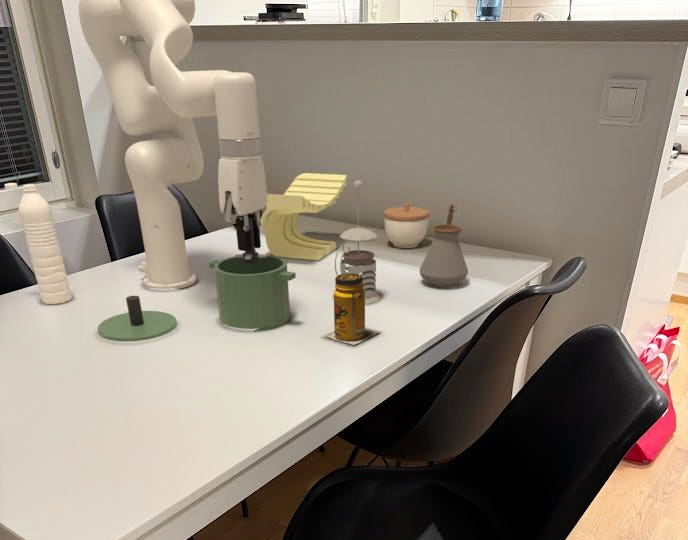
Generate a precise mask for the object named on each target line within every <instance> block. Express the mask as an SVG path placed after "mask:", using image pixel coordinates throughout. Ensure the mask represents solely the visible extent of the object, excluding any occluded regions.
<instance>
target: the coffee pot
mask: <svg viewBox="0 0 688 540" xmlns="http://www.w3.org/2000/svg"><path fill="white" fill-rule="evenodd" d="M454 209H455V210H454ZM447 210H448V214H447V220H446V224H436V225H434V226H433V227H432V231H433V232H434V238H433V240H432V242H431V244H430V246H429V249H428V250H427V252H426V255H425V257H424V259H423V261H422V264H421V265H420V268H419V273H420V275H419V276H420V277H421V278H422V279H423V280H424V281H425V282H426V284H427V285H429V286H431V287H434V288H441V289H442V288H443V289H445V288H446V289H447V288H454V287H457V286H459V285H460V283H461V282H463V281H464V280H465V279H466V278H467V276H468V275H469V270H468V267H467V263H466V261H465V257H464V253H463V251H462V249H461V245H460V242H459V238H458V236H459V234H460V233H461V231H463V228H462V227H460V226H458V225H455V224H452V221H453V218H454V214H453V213H455V212H456V211H458V207H457V206H455V205H454V204H450V205H448V207H447Z"/></svg>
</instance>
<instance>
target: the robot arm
mask: <svg viewBox="0 0 688 540" xmlns="http://www.w3.org/2000/svg"><path fill="white" fill-rule="evenodd" d="M195 14H196V1H195V0H79V2H78V17H79V18H78V19H79V23H80V27H81V31H82V34H83V36H84V39H85V41H86V45H88V48H89V50H90V52H91V54H92V55H93V57H94V59H95V60H96V62H97V64H98V66H99V68H100V70H101V73H102V76H103V79H104V82H105V85H106V88H107V91H108V94H109V97H110V100H111V103H112V106H113V109H114V113H115V115H116V118H117V121H118V123H119V125H120V128H121V129H122V131H123V132H124V133H125V134H127V135H129V136H133V137H141V136H142V137H144V136H154V135H162V134H166V135H167V137H168V138H157V139H148V140H142V141H137V142H135V143H133V144H131V145H130V146H129V147H128V148H127V150H126V152H125V155H124V163H125V168H126V172H127V174H128V177H129V180H130V183H131V186H132V189H133V193H134V198H135V202H136V207H137V213H138V218H139V222H140V223H139V224H140V231H141V235H142V241H143V248H144V252H145V253H144V254H145V259H146V260H142V261H141V262H140V264H139V265H138V267H137V270H138V271H139V272H145V277H144V278H143V280H142V282H143V285H144V286H145V287H148V288H151V289H157V290H158V289H159V290H167V289H168V290H170V289H175V290H179V289H184V288H188V287H190V286H193V285H194V284H195V283H196V282H197V275H196V274H195V273H193V272H192V271H190V268H189V261H188V254H187V248H186V240H185V231H184V226H183V218H182V211H181V206H180V204H179V201H178V199H177V198H176V197H175V196H174V195H173V193H172V192H171V191H170V189H169V188H168V186H173V185H177V184H183V183H191V182H193V181H196V180H198V179H199V178H201V177H202V175H203V173H204V167H205V166H204V164H205V163H204V155H203V152H202V148H201V145H200V141H199V138H198V134H197V131H196V128H195V124H194V121H193V119H197V118H207V117H216V123H217V133H218V142H219V152H220V158H219V159H218V171H217V182H218V185H217V186H218V201H219V202H218V203H219V210H220V212H221V214H222V215H224V221H225V223H229V224H231V225H232V226H233V230H234V231H236V240H237V250H238V251H241V252H245V251H249V252H251V251H252V250H253V246H252V235H251V230H249V224H248V217H250V218H252V221H253V233H254V244H255V249H260V248H261V246H262V244H261V243H262V242H261V241H262V240H261V231H260V227H261V217H262V214H263V213H264V212H265V211H266V209H267V206H266V205H267V194H268V185H267V180H266V179H267V178H266V172H265V171H266V170H265V165H264V161H263V157H262V145H261V134H260V133H261V132H260V121H259V120H260V119H259V108H258V106H259V105H258V93H257V83H256V79H255V77H254V75H252V73H250V72H244V71H241V72H239V71H234V72H232V71H230V70H226V69H225V70H223V69H214V70H213V69H211V70H188V71H181V70H179V69H178V67H177V66H176V64H178V63H179V62H181V61H182V60H183V59H185V58H186V57H187V55H188V54H189V52H190V51H191V48H192V46H193V42H194V34H193V30H192V28H191V26H190V24H191V23H192V22H193V20H194V18H195ZM120 37H141V38H142V39H143V40H144V41H145V43H146V44H147V46H148V47H149V48H150V54H149V71H150V76H151V81H152V84H153V85H151V84H150V83H149V82H148V81H147V77H146V74H145V71H144V67H143V65H142V62H141V61H140V59H139V58H138V56H137V55H136V54H135V52H134V51H133V50H132V49H131V48H130V47H129V46H128V45H127V44H126V43H125V42H124V41H122V39H121V38H120ZM251 213H252V214H251Z"/></svg>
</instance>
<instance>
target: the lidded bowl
mask: <svg viewBox="0 0 688 540" xmlns="http://www.w3.org/2000/svg"><path fill="white" fill-rule="evenodd" d="M430 213H431V212H430V210H428V209H427V208H424V207H418V206H410V203H405V204H404V206H396V207H395V206H394V207H390V208H387V209H384V211H383V217H384V231H385V234H386V237H387V239H388V240H389V241H390V242H391V244H392V246H394V247H395V248H400V249H413V248H416V247H418V246H419V244H420V243H422V241H423V240H424V239H425V237H426V235H427V233H428V229H429V223H430V221H429V220H430V215H431V214H430Z"/></svg>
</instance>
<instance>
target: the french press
mask: <svg viewBox="0 0 688 540" xmlns="http://www.w3.org/2000/svg"><path fill="white" fill-rule="evenodd" d="M363 186H364V183H363V182H362V181H361V180H359V179H357V180H355V181H354V182H353V187H354V188H357V227H354V228H350V229H347V230H345V231H344V232H342V233H341V234H340V235H339V238H340V240H341V241H344V242H347V243H357V249H356V250H355V249H353V250H351V247H350V246H347V247H346V248H345V245H341V246H340V247H338V248H337V251H336V254H335V258H334V272H335V274H336V276H338V275H339V273H338V270H337V264H336V263H337V258H338V254H339V252H340V250H341V249H342V251H343V252H342V254H341V257H340V262H339V270H340V274H346V273H353V274H358V275H361V276H362V279H363V282H362V283H363V290H364V291H365V305H370V304H374V303H376V302H377V301H379V300H380V298H381V296H380V294H379V293H378V292H377V291H376V289H377V285H376V284H377V280H376V278H377V274H376V272H377V261H376V259H374V257H375V256H376V255H375V253H374V252H373V251H370V250H364V249H360V243H367V242H371V241H374V240H376V238H377V237H378V235H377V234H376V233H375V231H372V230H371V229H368V228H364V227H360V224H359V223H360V206H359V205H360V200H359V199H360V196H359V195H360V193H359V192H360V189H359V188H362V187H363ZM346 265H347V266H346Z"/></svg>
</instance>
